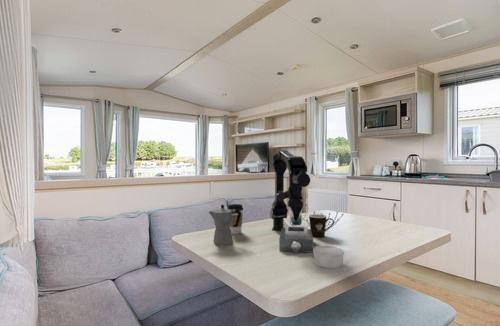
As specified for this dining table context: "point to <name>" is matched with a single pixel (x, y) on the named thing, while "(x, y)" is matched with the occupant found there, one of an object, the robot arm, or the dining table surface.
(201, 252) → the dining table surface
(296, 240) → the grey hollow block
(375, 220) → the dining table surface
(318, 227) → the coffee mug
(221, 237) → the coffeepot
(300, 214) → the metal can
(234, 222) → the coffee cup
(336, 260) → the ramekin
